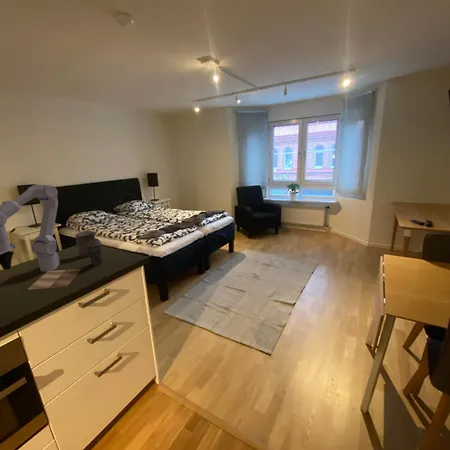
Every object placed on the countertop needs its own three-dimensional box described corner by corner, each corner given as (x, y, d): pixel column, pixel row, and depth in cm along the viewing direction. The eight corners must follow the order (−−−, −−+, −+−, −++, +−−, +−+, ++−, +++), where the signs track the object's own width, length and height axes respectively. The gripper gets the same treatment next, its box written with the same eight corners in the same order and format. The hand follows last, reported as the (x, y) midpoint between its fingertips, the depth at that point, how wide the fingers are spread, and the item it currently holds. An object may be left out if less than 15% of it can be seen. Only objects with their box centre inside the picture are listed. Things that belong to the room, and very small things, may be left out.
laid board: (67, 272, 127) (66, 269, 126) (82, 270, 128) (81, 268, 127) (50, 290, 110) (49, 287, 109) (67, 288, 111) (67, 286, 110)
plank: (48, 273, 125) (47, 270, 125) (66, 272, 126) (66, 270, 126) (27, 291, 108) (27, 289, 108) (49, 290, 109) (48, 288, 109)
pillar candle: (100, 254, 149) (96, 230, 145) (84, 259, 141) (80, 234, 137) (91, 251, 154) (87, 227, 150) (75, 256, 146) (70, 232, 142)
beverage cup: (87, 265, 133) (81, 230, 128) (101, 261, 138) (96, 227, 133) (93, 270, 129) (86, 233, 123) (107, 265, 134) (101, 230, 128)
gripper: (0, 235, 112) (7, 262, 116) (-25, 246, 98) (-16, 277, 102) (17, 234, 113) (24, 261, 117) (-5, 245, 99) (4, 275, 103)
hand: (7, 268), depth 109 cm, fingers closed
